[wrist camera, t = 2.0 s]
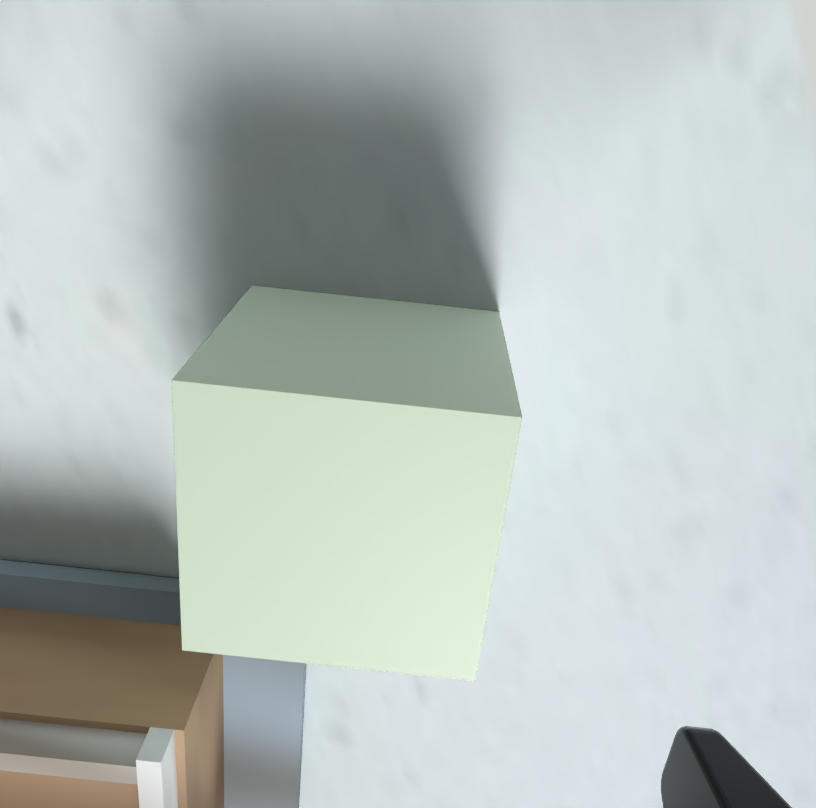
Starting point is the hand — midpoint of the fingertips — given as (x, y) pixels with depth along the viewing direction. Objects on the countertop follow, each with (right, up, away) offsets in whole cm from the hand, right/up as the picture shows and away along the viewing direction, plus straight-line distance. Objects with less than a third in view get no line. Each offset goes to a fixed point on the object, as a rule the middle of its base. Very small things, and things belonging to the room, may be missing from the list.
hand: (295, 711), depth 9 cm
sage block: (0, +3, +7) cm, 8 cm away
